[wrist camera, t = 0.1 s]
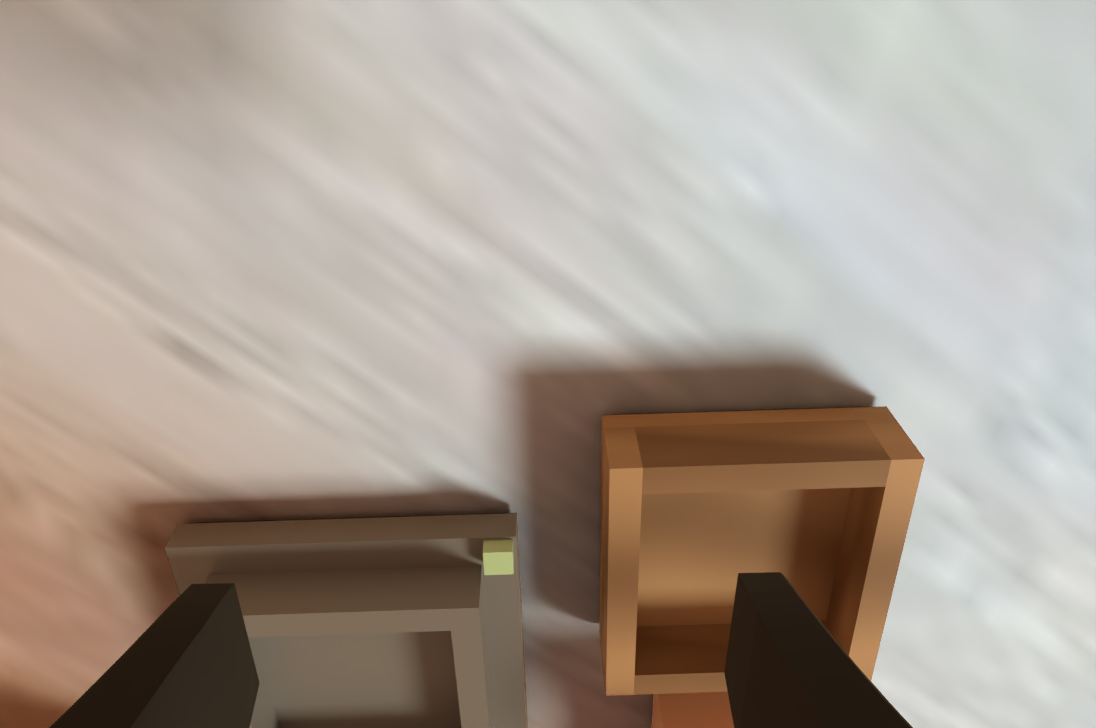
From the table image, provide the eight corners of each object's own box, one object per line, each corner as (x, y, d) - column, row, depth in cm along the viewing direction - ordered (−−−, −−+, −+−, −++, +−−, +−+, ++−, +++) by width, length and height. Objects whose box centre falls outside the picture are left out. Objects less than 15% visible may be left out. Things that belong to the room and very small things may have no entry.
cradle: (528, 735, 28) (528, 808, 26) (245, 745, 28) (220, 819, 26) (516, 513, 23) (515, 578, 21) (178, 524, 23) (140, 590, 21)
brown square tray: (841, 623, 26) (869, 686, 24) (599, 631, 26) (606, 695, 24) (886, 406, 22) (924, 458, 20) (601, 415, 22) (609, 468, 20)
